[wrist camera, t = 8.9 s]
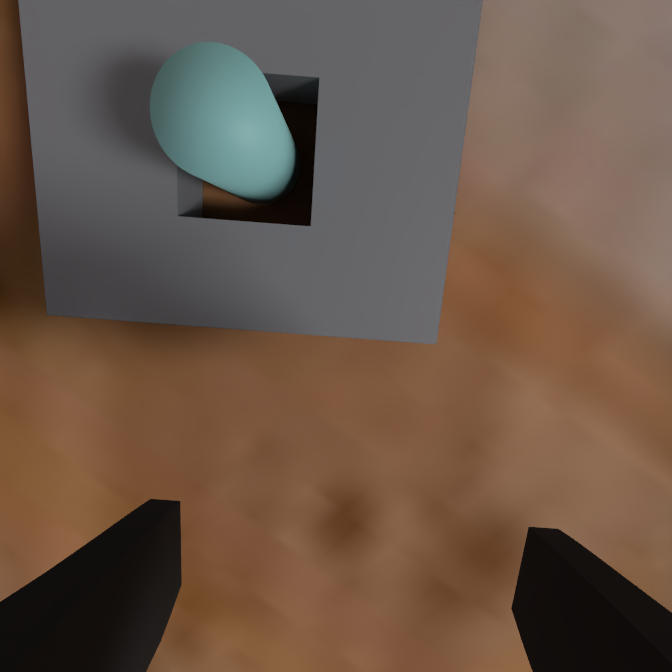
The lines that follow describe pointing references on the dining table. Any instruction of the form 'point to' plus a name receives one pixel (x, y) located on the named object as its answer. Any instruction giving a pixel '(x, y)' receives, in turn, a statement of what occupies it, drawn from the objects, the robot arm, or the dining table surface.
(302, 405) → the dining table surface
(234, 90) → the peg
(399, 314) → the peg block
